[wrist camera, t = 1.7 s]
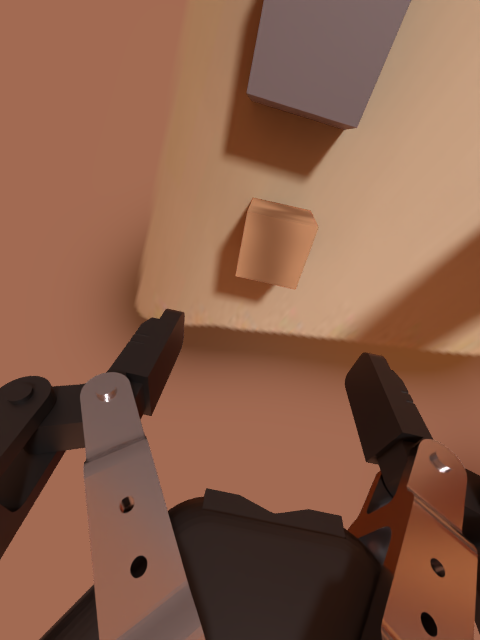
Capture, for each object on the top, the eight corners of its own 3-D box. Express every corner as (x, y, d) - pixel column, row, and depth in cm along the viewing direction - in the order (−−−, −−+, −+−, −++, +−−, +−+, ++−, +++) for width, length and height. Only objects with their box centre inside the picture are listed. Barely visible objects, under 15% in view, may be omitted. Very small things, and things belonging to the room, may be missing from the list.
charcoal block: (405, -27, 14) (442, -74, 11) (343, 129, 19) (356, 127, 16) (285, -68, 14) (288, -130, 11) (251, 101, 19) (246, 93, 15)
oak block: (310, 210, 22) (318, 227, 18) (292, 264, 26) (295, 289, 21) (253, 197, 22) (247, 211, 18) (242, 252, 26) (235, 276, 21)
